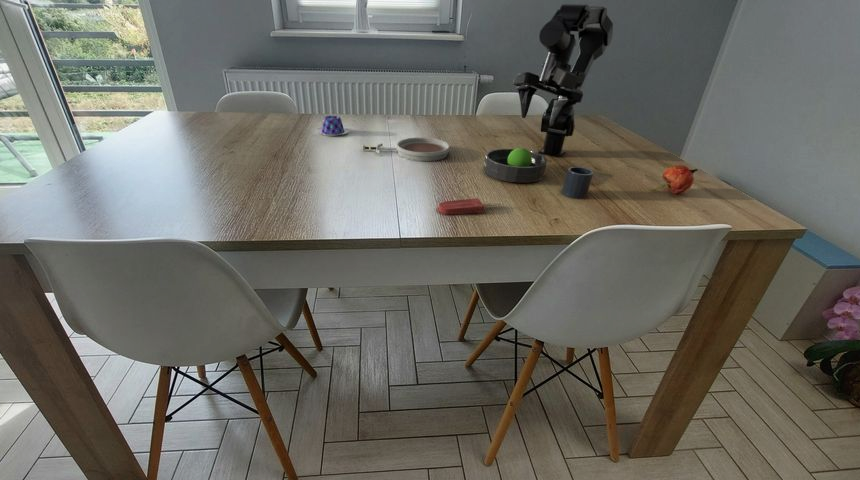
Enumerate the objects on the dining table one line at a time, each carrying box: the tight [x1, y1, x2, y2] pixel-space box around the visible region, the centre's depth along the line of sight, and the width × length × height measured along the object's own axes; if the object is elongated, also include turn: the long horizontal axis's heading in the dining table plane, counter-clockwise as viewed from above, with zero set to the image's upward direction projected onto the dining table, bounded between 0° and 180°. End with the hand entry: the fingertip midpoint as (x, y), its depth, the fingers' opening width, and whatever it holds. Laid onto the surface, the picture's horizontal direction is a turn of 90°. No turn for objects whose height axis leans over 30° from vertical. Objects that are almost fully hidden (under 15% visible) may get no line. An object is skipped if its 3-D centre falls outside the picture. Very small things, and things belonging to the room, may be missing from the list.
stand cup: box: [561, 166, 595, 200], centre depth 100 cm, size 6×6×6 cm
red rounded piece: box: [652, 164, 698, 195], centre depth 102 cm, size 7×7×10 cm
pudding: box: [315, 115, 351, 137], centre depth 144 cm, size 12×12×5 cm
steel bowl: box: [482, 148, 548, 184], centre depth 112 cm, size 16×16×4 cm
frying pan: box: [360, 136, 451, 162], centre depth 127 cm, size 17×3×28 cm
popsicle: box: [437, 197, 502, 216], centre depth 93 cm, size 4×2×15 cm
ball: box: [507, 147, 532, 167], centre depth 112 cm, size 6×6×6 cm
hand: (537, 122), depth 111 cm, fingers open, 9 cm apart
